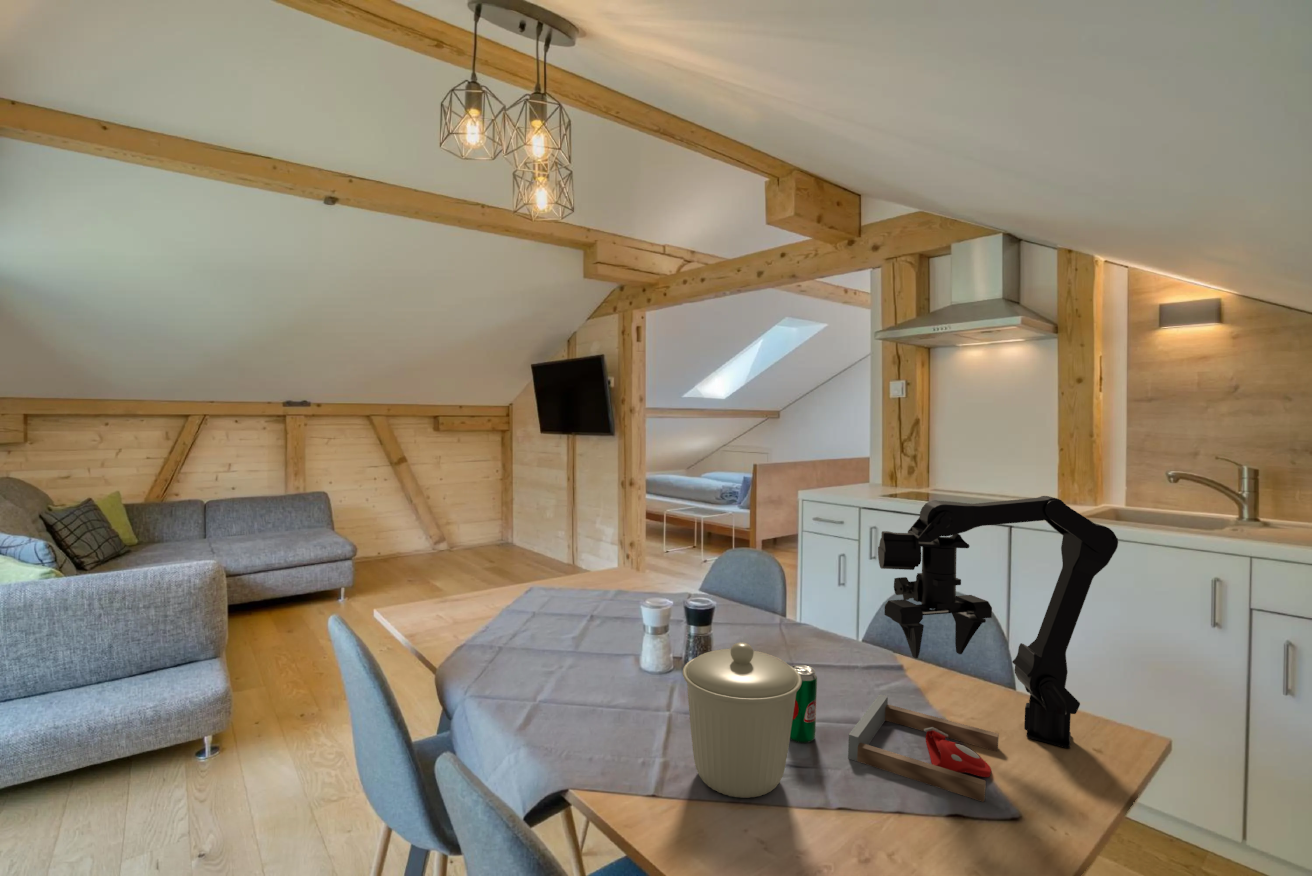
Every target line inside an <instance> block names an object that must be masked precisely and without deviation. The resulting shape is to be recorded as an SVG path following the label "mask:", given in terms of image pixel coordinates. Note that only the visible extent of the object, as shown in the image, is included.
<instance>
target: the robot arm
mask: <svg viewBox="0 0 1312 876" xmlns="http://www.w3.org/2000/svg"><path fill="white" fill-rule="evenodd" d="M1040 521H1041V522H1042V521H1044V522H1046V523H1047V524H1048V525H1049V526H1051V528H1053V529H1054V530H1055V531H1056V532H1058V533H1059V534H1060V535H1062V541H1061V545H1060V550H1061V560H1062V568H1061V570H1060V573H1059V576H1058V579H1057V580H1056V583H1055V587H1054V590H1053V593H1052V594H1051V598H1050V601H1049V603H1048V606H1047V609H1046V611H1045V614H1044V617H1043V620H1042V622H1041V625H1040V627H1039V630H1038V634H1037V636H1036V637H1035V639H1034V641H1032V642H1031V643H1030V644H1029V645H1028V646H1027V645H1026V644H1024V643H1023V642H1022V643H1020V644H1019V645H1018V650H1017V654H1016V657H1015V658H1014V659H1013V660H1012V661H1011V663H1012V664H1013V665H1014V674H1015V676H1016V679H1017V680H1018V681H1019V682H1021V684H1022V685H1024V690H1025V691H1026V692H1027V693H1028V694H1030V695H1029V700H1028V701H1029V702H1025V706H1024V707H1025V708H1024V726H1023V727H1024V728H1023V729H1024V730H1025V731H1026V738H1027V739H1030V740H1031V739H1032V740H1034V741H1038V742H1042V743H1046V744H1050V745H1054V746H1058V747H1061V748H1065V749H1070V748H1071V735H1072V734H1071V717H1072V715H1076V714H1077V712H1078V710H1079V708H1080V706H1081V702H1080V701H1079V700H1078V699H1077V698H1076V697H1075V696H1074V695H1073V694H1072V693H1071V692H1070V691H1069V690H1068V689H1067V688H1066V685H1067V679H1068V664H1067V663H1068V662H1067V649H1068V647H1069V645H1070V642H1071V639H1072V636H1073V634H1074V630H1075V628H1076V625H1077V623H1078V620H1079V617H1080V614H1081V612H1082V609H1083V606H1084V603H1085V602H1086V601H1085V600H1086V599H1087V596H1088V594H1089V591H1090V588H1091V585H1092V583H1093V582H1092V581H1093V580H1094V578H1095V576H1096V575H1098V573H1100V572H1101V571H1102V570H1103V569H1104V568H1106V566H1108V564H1109V563H1110V561H1111V559H1112V558H1113V556H1114V554H1115V553H1116V552H1117V549H1118V546H1119V539H1118V536H1116V534H1115V532H1114V531H1113V530H1112V529H1111V528H1109V527H1107V526H1105V525H1101V524H1098V523H1096V522H1093V521H1092V520H1090V519H1089V518H1087V517H1085V516H1084V515H1082V514H1081V513H1079V512H1077V511H1075V510H1074V509H1073V508H1071V507H1070V506H1069V505H1067V504H1066V503H1065V502H1064V501H1062V500H1061V499H1059V498H1057V497H1052V496H1050V495H1049V496H1048V495H1041V496H1038V497H1033V498H1032V497H1030V498H1021V499H1020V498H1019V499H1013V500H1011V499H1010V500H1000V501H989V502H979V503H967V502H958V501H950V500H930V501H927V502H925V504H924V505H923V506H922V507H921V508H920V512H919V517H918V518H917V520H916V521H915V522H914V523H913V524H912V525H911V526H910V528H909V529H908V530H907V532H894V531H888V530H887V531H886V530H883V531H881V538H880V540H879V545H878V546H877V556H878V557H877V558H878V565H879V568H880V569H882V570H903V571H905V570H906V571H907V570H908V571H914V570H915V568H916V567H917V568H919V565H920V564H921V572H918V573H917V574H916V575H915V577H916V579H915V580H913V581H911V580H910V581H909V579H908V577H906V576H902V577H895V578H894V580H893V590H894V594H895V595H896V596H902V599H889V600H888V601H887V602H886V603H885V604H884V616H886V617H888V618H890V619H891V620H892V621H893V622H896V623H897V624H899V626H900V627H901V629H902V631H903V634H904V636H905V638H906V641H907V644H908V647H909V650H910V652H911V653H910V654H911V656H912V657H913V658H915V659H919V656H920V651H921V646H922V639H923V633H924V627H925V626H924V624H923V623H921V621H923V619H924V616H931V615H933V616H935V615H942V614H943V615H944V614H946V615H947V614H952V617H953V620H954V623H955V638H954V639H955V642H954V643H955V644H954V645H955V646H954V647H955V652H956V654H958V655H963V653H964V651H965V650H966V648H967V646H968V645H969V643H970V642H971V640H972V638H973V636H974V635H975V634H976V633H977V631H978V630H979V628H980V627H981V625H982V624H984V623H986V622H987V619H990V618H991V619H992V617H993V607H992V605H991V603H990V602H989V601H988V600H985V599H982V598H980V597H978V596H975V595H972V594H965V595H964V594H963V595H957V594H956V593H957V586H962V579H961V578H959V577H957V551H958V550H957V549H969V548H970V544H969V543H967V542H966V541H965V540H964V539H963V537H962V535H961V534H962V533H963V534H964V533H966V532H969V531H971V530H973V529H976V528H980V527H983V526H995V525H1006V524H1016V523H1017V524H1019V523H1028V522H1029V523H1030V522H1040ZM910 599H913V601H915V602H917V603H920V604H917V603H916V604H915V602H912V601H909V600H910Z"/></svg>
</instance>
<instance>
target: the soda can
mask: <svg viewBox="0 0 1312 876" xmlns="http://www.w3.org/2000/svg"><path fill="white" fill-rule="evenodd" d="M790 666H791V667H793V668H794V669H795V670H796V671H797V672H798V673H799V674H800V676H801V679H802V684H801V687H800V689H799V690H798V691H797V692H796V699H795V706H794V713H793V720H792V727H791V734H790V740H791V741H793V742H796V743H800V744H806V743H810V742H812V741H813V740H814V739H816V730H817V729H816V726H817V723H816V722H817V695H818V692H817V691H818V690H817V689H818V676H817V674H816V670H815V668H813V667H811V666H807V665H804V664H795V665H790Z"/></svg>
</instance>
